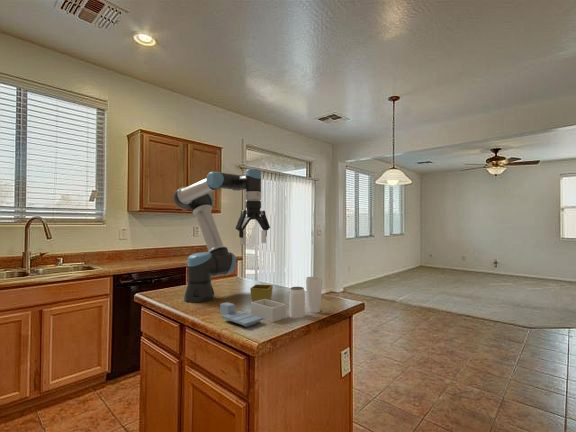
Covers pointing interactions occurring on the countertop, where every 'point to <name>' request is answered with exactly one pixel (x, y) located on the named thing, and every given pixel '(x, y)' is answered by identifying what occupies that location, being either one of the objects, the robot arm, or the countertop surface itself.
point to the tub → (268, 310)
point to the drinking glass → (314, 293)
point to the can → (297, 302)
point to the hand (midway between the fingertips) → (253, 243)
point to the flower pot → (261, 292)
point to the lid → (238, 315)
